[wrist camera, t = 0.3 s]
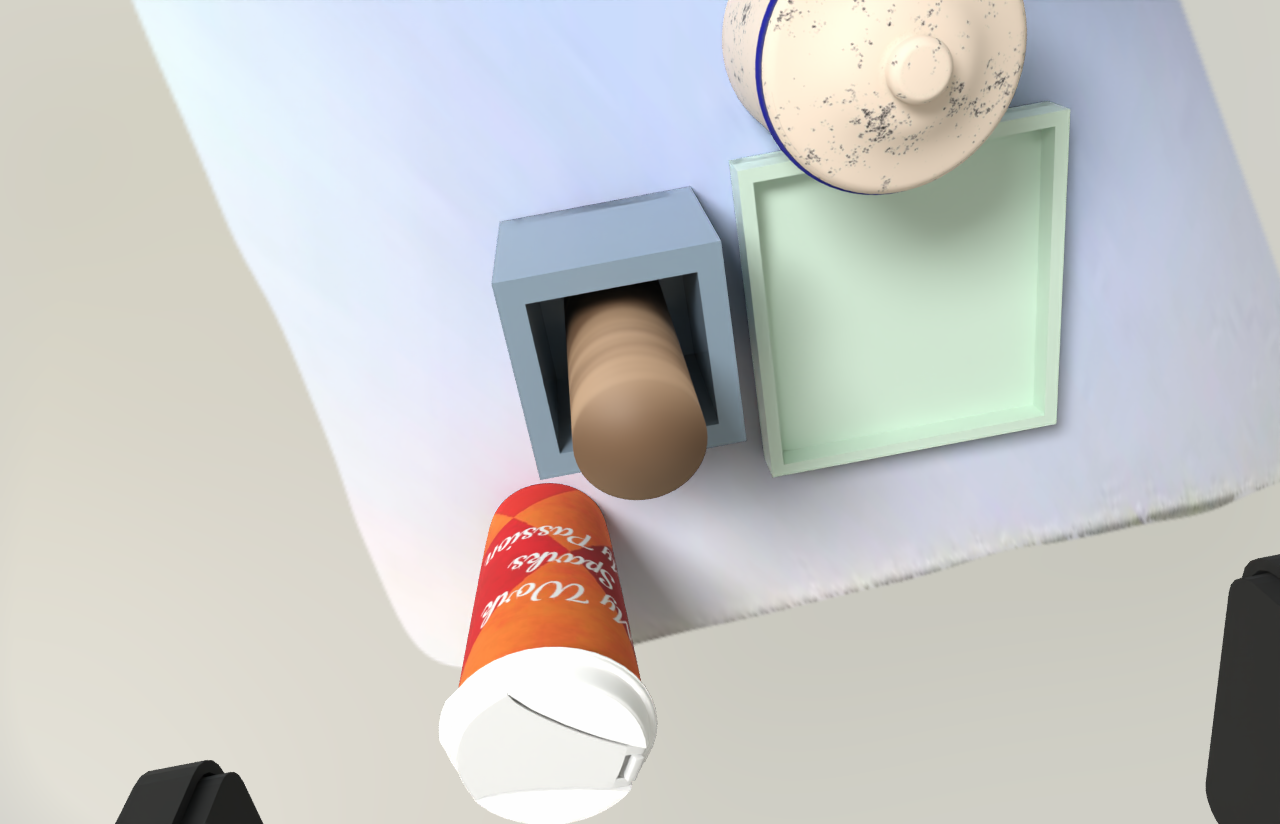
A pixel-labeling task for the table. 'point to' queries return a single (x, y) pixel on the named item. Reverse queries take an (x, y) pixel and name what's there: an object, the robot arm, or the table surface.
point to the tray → (906, 299)
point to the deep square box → (601, 259)
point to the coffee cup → (548, 668)
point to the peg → (631, 393)
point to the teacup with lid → (875, 82)
